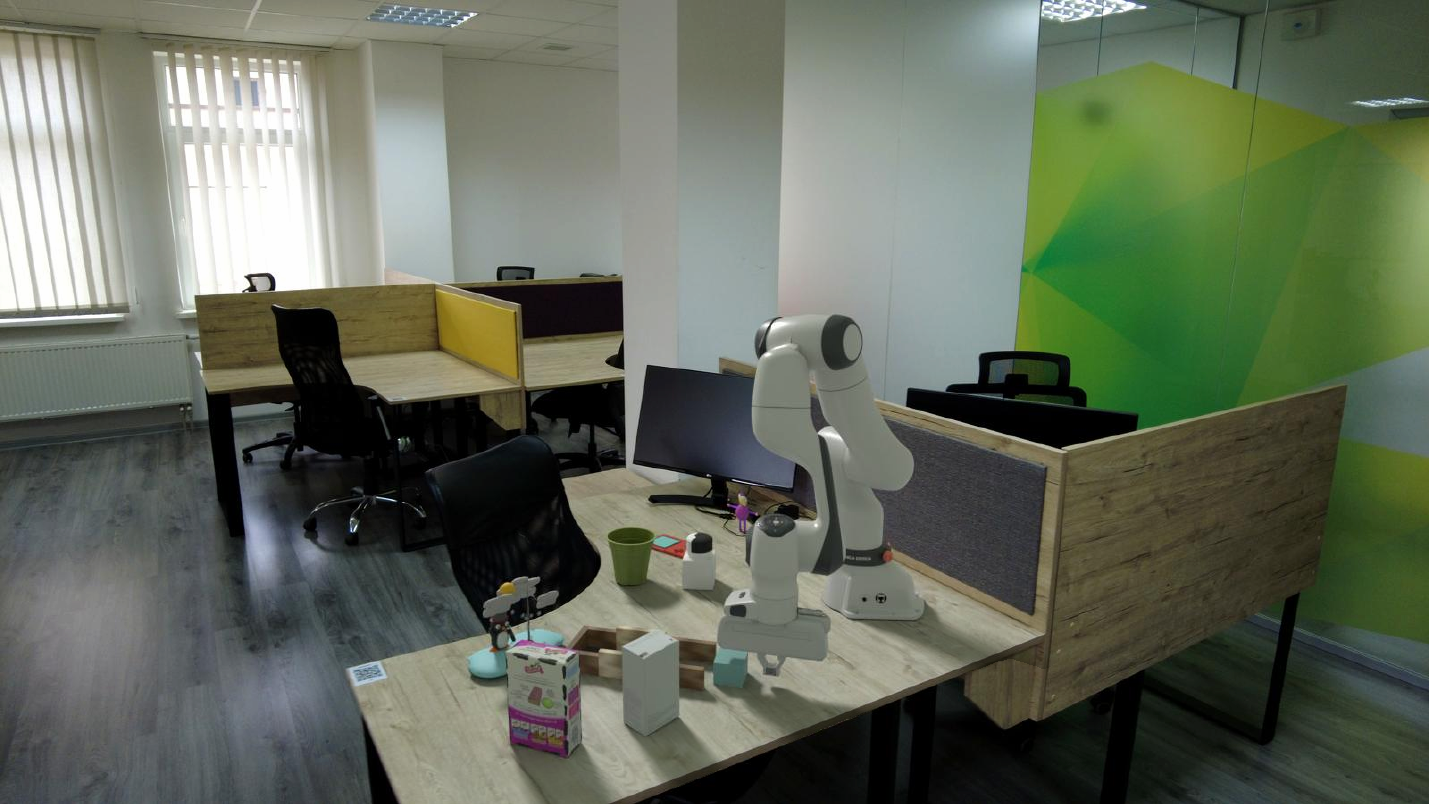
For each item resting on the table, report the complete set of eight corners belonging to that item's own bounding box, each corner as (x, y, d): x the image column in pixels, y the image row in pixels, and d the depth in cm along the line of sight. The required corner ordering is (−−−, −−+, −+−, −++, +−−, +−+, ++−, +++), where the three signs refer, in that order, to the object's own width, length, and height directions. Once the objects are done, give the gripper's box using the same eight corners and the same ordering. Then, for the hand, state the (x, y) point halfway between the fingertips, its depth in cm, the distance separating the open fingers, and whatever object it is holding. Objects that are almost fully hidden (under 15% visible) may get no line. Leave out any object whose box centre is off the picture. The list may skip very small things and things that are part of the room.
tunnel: (716, 660, 165) (716, 637, 164) (702, 690, 154) (702, 665, 153) (584, 643, 171) (584, 620, 170) (563, 671, 160) (562, 647, 159)
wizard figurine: (760, 536, 229) (761, 493, 227) (752, 539, 227) (753, 496, 224) (730, 525, 237) (731, 484, 234) (722, 528, 235) (723, 487, 232)
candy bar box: (583, 741, 139) (581, 649, 136) (568, 759, 134) (565, 664, 131) (525, 726, 143) (521, 637, 139) (508, 743, 138) (503, 651, 135)
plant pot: (644, 593, 194) (644, 547, 191) (597, 586, 197) (596, 540, 195) (664, 573, 205) (664, 529, 202) (619, 567, 208) (618, 523, 206)
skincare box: (657, 704, 150) (656, 626, 147) (681, 718, 146) (681, 638, 143) (621, 724, 144) (619, 644, 141) (645, 739, 140) (644, 656, 137)
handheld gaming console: (684, 557, 213) (640, 542, 222) (684, 561, 213) (640, 546, 222) (707, 546, 220) (663, 532, 229) (707, 550, 220) (663, 537, 229)
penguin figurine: (484, 688, 155) (480, 611, 151) (455, 666, 162) (450, 592, 159) (574, 650, 168) (572, 578, 165) (544, 631, 176) (541, 563, 172)
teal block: (747, 673, 161) (747, 651, 160) (742, 688, 155) (742, 665, 154) (719, 669, 162) (719, 648, 161) (713, 684, 157) (713, 662, 156)
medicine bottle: (715, 578, 202) (716, 530, 200) (712, 591, 195) (713, 541, 193) (686, 576, 203) (686, 529, 201) (682, 589, 196) (682, 540, 194)
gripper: (833, 603, 154) (829, 673, 157) (723, 591, 159) (722, 658, 162) (829, 619, 148) (826, 691, 151) (715, 605, 153) (714, 675, 156)
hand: (771, 674), depth 156 cm, fingers closed
